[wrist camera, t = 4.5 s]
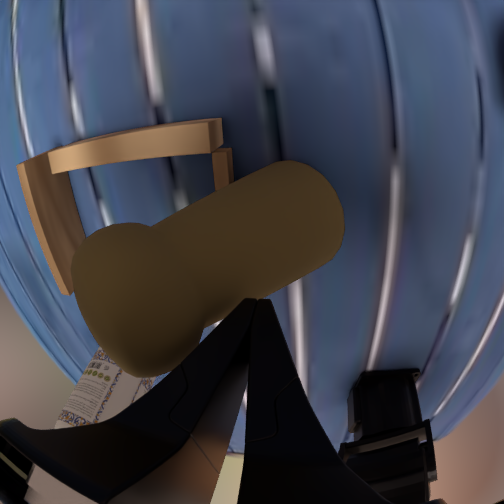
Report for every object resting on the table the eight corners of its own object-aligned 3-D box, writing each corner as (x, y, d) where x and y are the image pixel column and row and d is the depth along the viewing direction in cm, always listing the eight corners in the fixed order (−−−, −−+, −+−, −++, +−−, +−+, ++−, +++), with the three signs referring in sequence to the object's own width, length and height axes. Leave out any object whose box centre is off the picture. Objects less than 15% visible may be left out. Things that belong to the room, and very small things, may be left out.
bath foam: (96, 341, 28) (21, 479, 11) (122, 324, 25) (31, 498, 8) (140, 376, 30) (82, 513, 13) (172, 365, 27) (109, 534, 10)
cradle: (229, 117, 14) (207, 125, 10) (241, 277, 19) (229, 318, 16) (54, 148, 16) (16, 165, 13) (87, 265, 21) (61, 294, 18)
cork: (339, 283, 14) (167, 437, 7) (252, 253, 18) (92, 346, 11) (347, 166, 12) (82, 272, 4) (245, 157, 15) (42, 219, 8)
